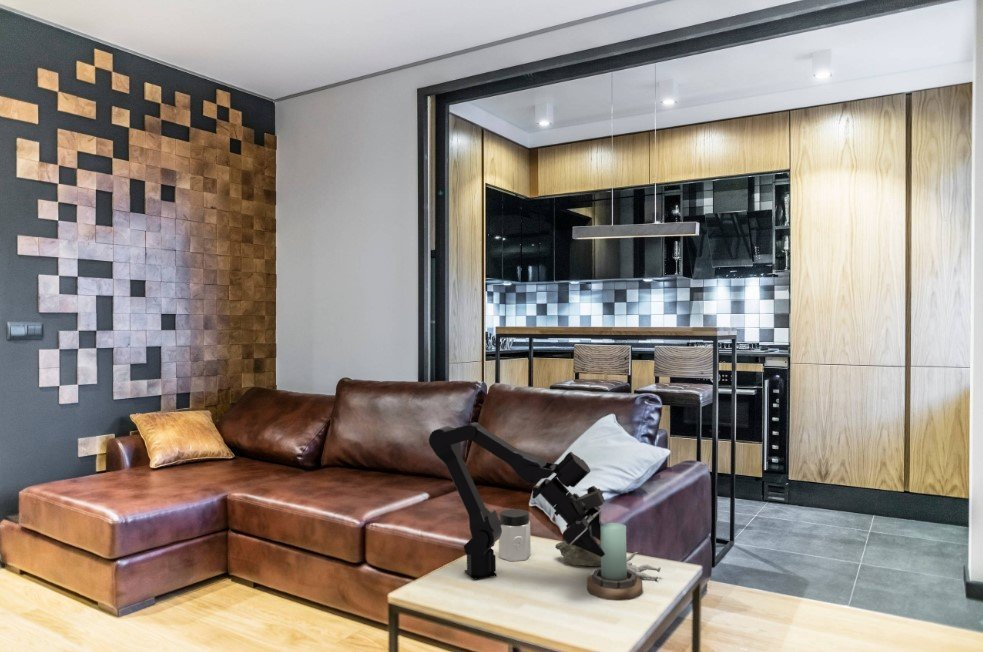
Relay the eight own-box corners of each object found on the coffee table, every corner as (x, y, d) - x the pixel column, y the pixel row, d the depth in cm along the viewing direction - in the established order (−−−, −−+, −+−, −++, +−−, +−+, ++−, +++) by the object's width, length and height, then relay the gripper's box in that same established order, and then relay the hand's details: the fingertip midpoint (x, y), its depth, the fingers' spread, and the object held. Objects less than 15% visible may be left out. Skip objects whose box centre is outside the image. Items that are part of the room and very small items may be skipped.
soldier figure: (654, 589, 161) (606, 569, 164) (651, 597, 164) (605, 577, 168) (663, 561, 165) (616, 542, 169) (660, 568, 169) (614, 550, 173)
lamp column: (617, 587, 154) (616, 531, 154) (596, 581, 158) (595, 526, 159) (631, 580, 158) (631, 526, 158) (611, 574, 163) (610, 521, 163)
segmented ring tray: (606, 604, 150) (606, 588, 150) (576, 584, 162) (576, 570, 162) (653, 594, 155) (653, 579, 155) (621, 576, 167) (621, 562, 167)
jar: (502, 562, 178) (501, 517, 179) (495, 553, 186) (495, 510, 187) (534, 559, 180) (533, 515, 180) (526, 550, 188) (526, 508, 188)
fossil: (591, 585, 171) (616, 562, 176) (584, 553, 167) (610, 531, 172) (552, 562, 182) (577, 541, 187) (545, 532, 178) (570, 511, 183)
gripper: (575, 486, 152) (625, 539, 148) (591, 470, 170) (635, 517, 166) (542, 517, 155) (590, 570, 151) (561, 499, 172) (604, 546, 169)
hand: (606, 549), depth 159 cm, fingers open, 9 cm apart
